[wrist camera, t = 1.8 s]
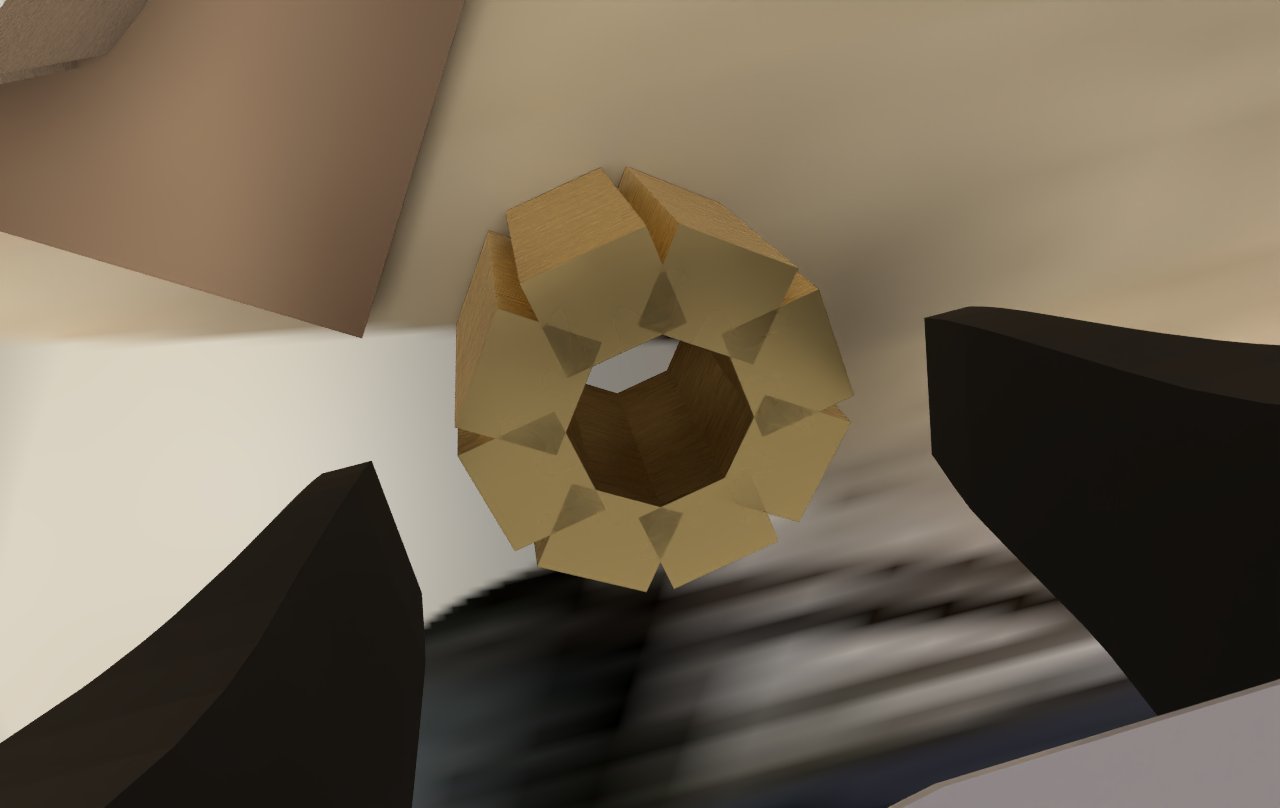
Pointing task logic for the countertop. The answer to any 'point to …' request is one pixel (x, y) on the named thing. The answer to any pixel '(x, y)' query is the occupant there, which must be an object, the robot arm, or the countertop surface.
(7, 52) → the steel gear
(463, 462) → the brass gear
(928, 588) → the countertop surface
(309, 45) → the gear board
